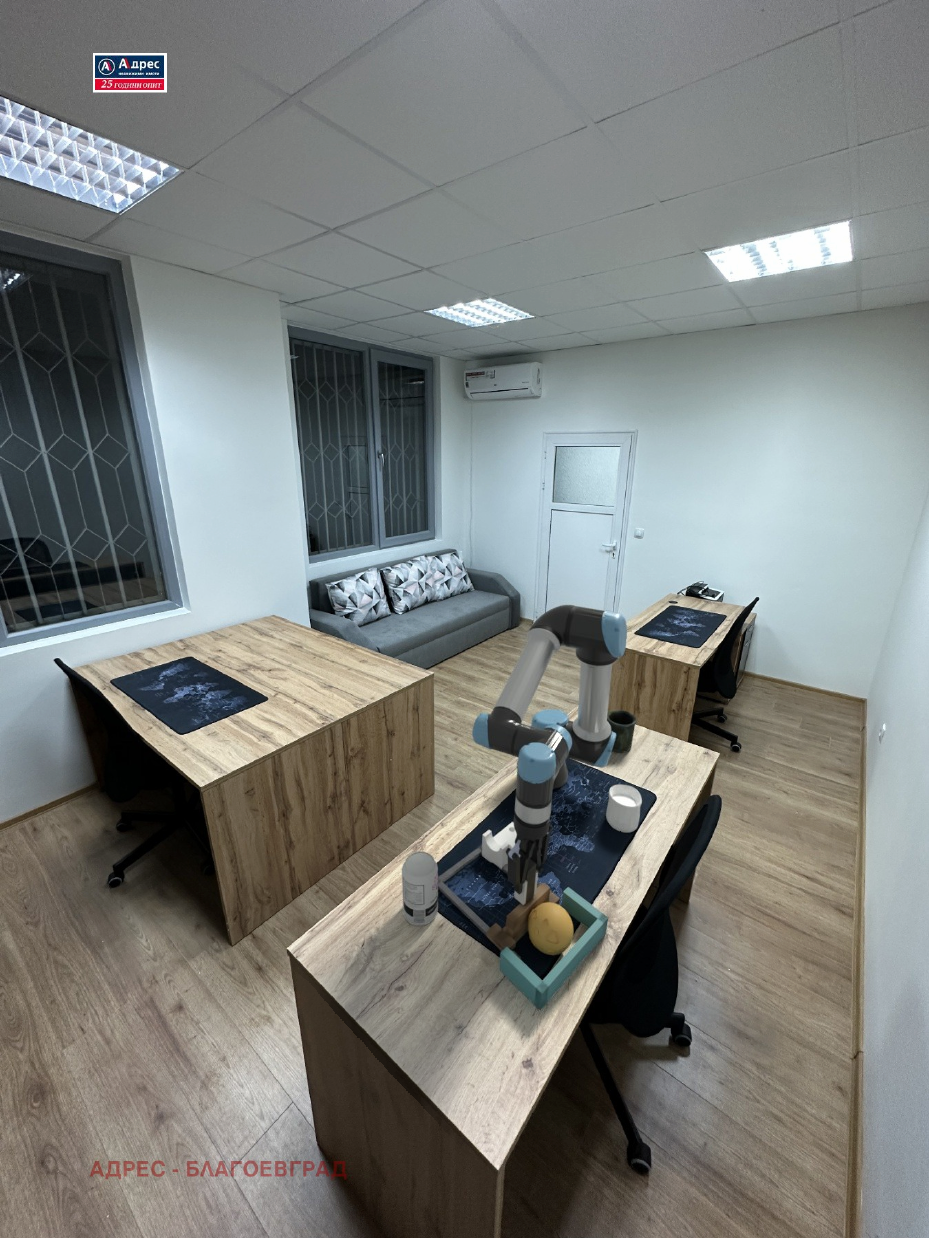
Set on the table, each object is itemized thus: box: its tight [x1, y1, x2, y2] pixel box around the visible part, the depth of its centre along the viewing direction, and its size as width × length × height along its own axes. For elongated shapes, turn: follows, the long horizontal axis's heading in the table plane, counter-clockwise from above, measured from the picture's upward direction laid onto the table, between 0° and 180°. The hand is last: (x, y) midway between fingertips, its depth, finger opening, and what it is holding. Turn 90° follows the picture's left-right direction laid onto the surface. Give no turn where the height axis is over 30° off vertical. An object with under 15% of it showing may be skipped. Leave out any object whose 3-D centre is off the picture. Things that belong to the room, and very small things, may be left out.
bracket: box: [481, 821, 517, 870], centre depth 134 cm, size 13×7×8 cm, turn 136°
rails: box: [438, 844, 522, 961], centre depth 120 cm, size 18×28×1 cm, turn 43°
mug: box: [607, 709, 638, 753], centre depth 182 cm, size 11×15×12 cm
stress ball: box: [528, 902, 574, 956], centre depth 108 cm, size 10×10×10 cm
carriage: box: [485, 859, 561, 952], centre depth 111 cm, size 19×6×18 cm, turn 133°
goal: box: [499, 886, 609, 1012], centre depth 107 cm, size 24×11×5 cm, turn 133°
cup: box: [605, 784, 643, 834], centre depth 144 cm, size 10×10×10 cm
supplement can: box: [401, 851, 439, 927], centre depth 114 cm, size 8×8×15 cm
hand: (525, 895), depth 111 cm, fingers closed on carriage, 3 cm apart
